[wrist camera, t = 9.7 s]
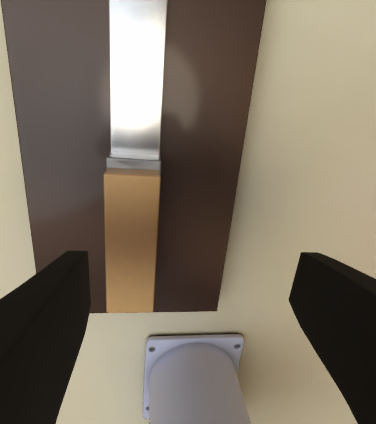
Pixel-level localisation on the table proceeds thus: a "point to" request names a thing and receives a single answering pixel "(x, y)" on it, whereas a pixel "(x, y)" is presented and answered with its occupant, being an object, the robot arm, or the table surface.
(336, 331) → the robot arm
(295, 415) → the table surface
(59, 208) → the board
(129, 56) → the knife
